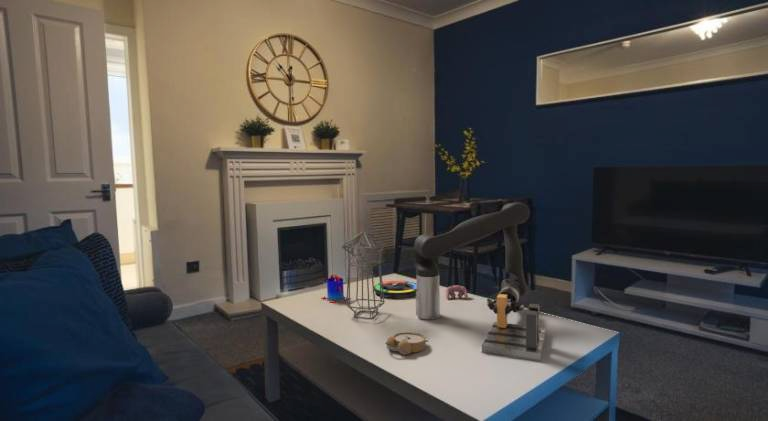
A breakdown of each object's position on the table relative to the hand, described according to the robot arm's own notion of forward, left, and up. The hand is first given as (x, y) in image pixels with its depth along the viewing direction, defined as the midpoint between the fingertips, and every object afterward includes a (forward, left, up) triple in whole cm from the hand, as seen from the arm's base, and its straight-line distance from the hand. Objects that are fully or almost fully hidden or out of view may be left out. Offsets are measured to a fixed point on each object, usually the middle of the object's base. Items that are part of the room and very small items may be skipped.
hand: (500, 311), depth 152 cm
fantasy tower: (-59, +57, -9) cm, 82 cm away
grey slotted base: (+2, -7, -9) cm, 12 cm away
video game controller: (-3, +48, -9) cm, 49 cm away
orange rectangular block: (+1, +2, -6) cm, 7 cm away
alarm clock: (-35, -5, -9) cm, 37 cm away
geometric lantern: (-46, +33, -9) cm, 57 cm away
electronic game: (-29, +63, -10) cm, 70 cm away
